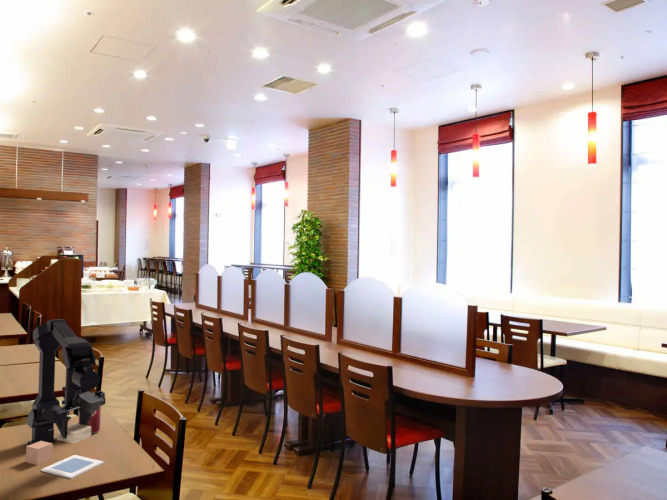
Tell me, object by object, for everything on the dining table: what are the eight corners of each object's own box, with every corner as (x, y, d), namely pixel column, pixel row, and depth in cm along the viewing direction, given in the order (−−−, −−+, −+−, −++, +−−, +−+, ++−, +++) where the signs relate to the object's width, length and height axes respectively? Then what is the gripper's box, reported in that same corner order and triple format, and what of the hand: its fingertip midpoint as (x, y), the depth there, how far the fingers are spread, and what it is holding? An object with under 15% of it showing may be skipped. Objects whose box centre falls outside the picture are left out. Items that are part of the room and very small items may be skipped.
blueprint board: (41, 470, 151) (41, 468, 151) (74, 456, 163) (74, 454, 163) (71, 478, 147) (71, 476, 147) (103, 463, 158) (103, 461, 158)
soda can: (91, 436, 180) (92, 402, 180) (73, 434, 181) (74, 400, 181) (104, 429, 187) (105, 396, 187) (87, 427, 188) (88, 395, 188)
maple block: (57, 439, 153) (57, 429, 153) (75, 432, 159) (75, 423, 159) (73, 443, 151) (73, 433, 151) (90, 436, 157) (91, 426, 157)
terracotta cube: (25, 462, 157) (26, 446, 157) (40, 456, 162) (41, 440, 162) (37, 465, 155) (38, 449, 155) (52, 459, 160) (52, 443, 160)
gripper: (70, 394, 143) (68, 450, 143) (119, 379, 161) (118, 429, 161) (41, 389, 147) (39, 443, 147) (92, 375, 165) (91, 423, 165)
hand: (74, 434), depth 155 cm, fingers closed on maple block, 6 cm apart
